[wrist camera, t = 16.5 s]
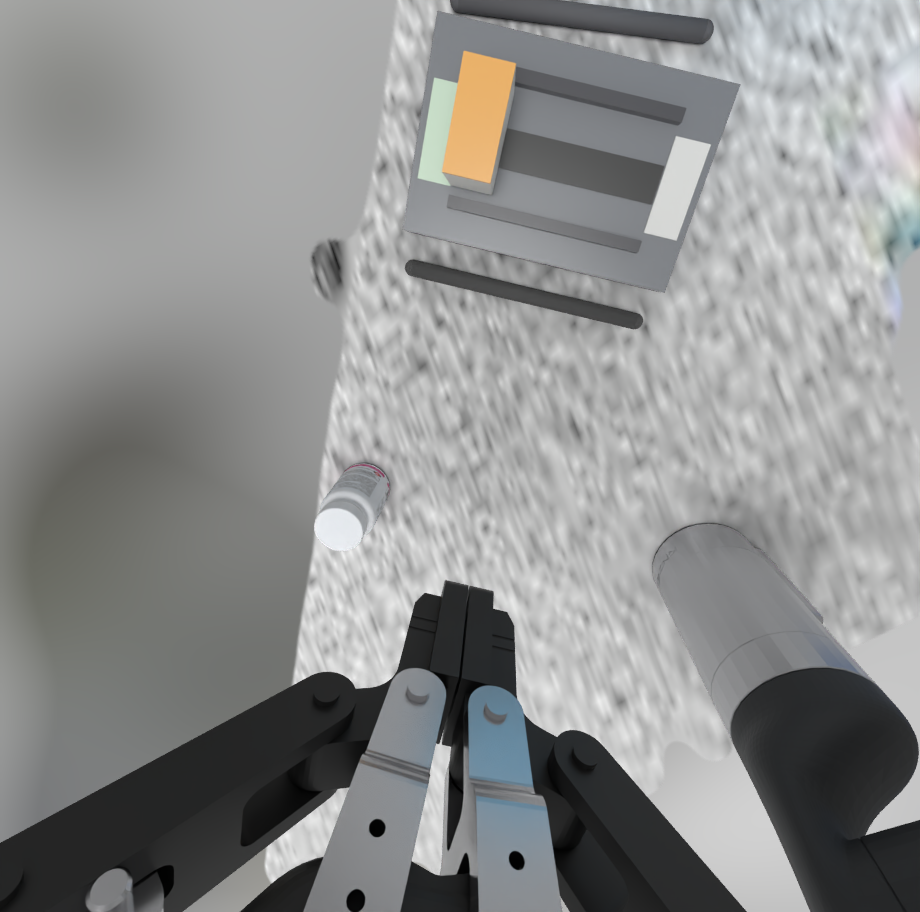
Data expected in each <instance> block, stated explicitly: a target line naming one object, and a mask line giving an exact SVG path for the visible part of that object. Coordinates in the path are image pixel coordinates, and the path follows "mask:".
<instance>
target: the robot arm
mask: <svg viewBox="0 0 920 912" xmlns="http://www.w3.org/2000/svg"><path fill="white" fill-rule="evenodd" d="M652 572H653V577H654V581H655V583H656V585H657V587H658V589H659V591H660V593H661V595H662V597H663V600H664V602H665V604H666V606H667V608H668V610H669V613H670V615H671V617H672V619H673V621H674V623H675V625H676V627H677V629H678V631H679V633H680V635H681V637H682V639H683V641H684V644H685V646H686V648H687V650H688V652H689V654H690V656H691V658H692V660H693V662H694V664H695V666H696V668H697V670H698V672H699V675H700V677H701V679H702V681H703V683H704V685H705V687H706V689H707V691H708V693H709V695H710V697H711V699H712V701H713V703H714V705H715V707H716V709H717V711H718V713H719V716H720V718H721V720H722V722H723V724H724V726H725V728H726V730H727V732H728V734H729V736H730V738H731V740H732V742H733V744H734V746H735V748H736V750H737V752H738V754H739V756H740V758H741V760H742V762H743V764H744V766H745V768H746V770H747V772H748V774H749V776H750V778H751V780H752V782H753V784H754V786H755V788H756V790H757V793H758V795H759V797H760V799H761V801H762V803H763V805H764V807H765V809H766V811H767V813H768V816H769V818H770V820H771V822H772V824H773V826H774V828H775V830H776V833H777V835H778V837H779V839H780V842H781V844H782V846H783V848H784V851H785V853H786V855H787V858H788V860H789V862H790V864H791V867H792V869H793V871H794V873H795V876H796V878H797V881H798V883H799V886H800V888H801V890H802V893H803V895H804V897H805V900H806V902H807V905H808V907H809V909H810V912H920V820H918V821H915V822H912V823H908V824H904V825H901V826H897V827H894V828H890V829H887V830H883V831H880V832H876V833H873V834H869V835H866V832H867V830H868V828H869V827H870V825H871V824H872V822H873V820H874V819H875V818H876V817H877V815H878V814H879V813H880V812H881V811H882V810H883V809H884V808H885V807H886V806H887V805H888V804H889V803H890V802H891V801H892V800H893V799H894V798H895V797H896V796H897V795H898V794H899V793H900V792H901V791H902V790H903V788H904V787H905V786H906V785H907V784H908V782H909V780H910V779H911V777H912V775H913V773H914V771H915V769H916V766H917V762H918V755H919V751H918V742H917V738H916V735H915V733H914V731H913V729H912V727H911V725H910V724H909V722H908V720H907V719H906V718H905V716H904V715H903V714H902V713H901V711H900V710H899V709H898V708H897V707H896V705H895V704H894V703H893V702H892V701H891V700H890V699H889V698H888V697H887V695H886V694H885V693H884V692H883V691H882V690H881V689H880V688H879V687H878V686H877V685H876V684H875V682H874V681H873V680H872V679H871V678H870V677H869V676H868V675H867V673H866V672H865V671H864V670H863V669H862V668H861V667H860V666H859V664H858V663H857V662H856V661H855V660H854V659H853V658H852V657H851V656H850V654H849V653H848V652H847V651H846V650H845V649H844V648H843V647H842V646H841V645H840V644H839V642H838V641H837V640H836V639H835V638H834V637H833V636H832V635H831V633H830V632H829V631H828V630H827V629H826V628H825V627H824V626H823V625H822V624H823V617H822V615H821V614H820V613H819V612H818V611H817V610H816V608H815V607H814V606H813V605H812V604H811V603H810V602H809V601H808V600H807V599H806V598H805V596H804V595H803V594H802V593H801V592H800V591H799V590H798V589H797V588H796V587H795V586H794V584H793V583H792V582H791V581H790V580H789V579H788V578H787V577H786V576H785V575H784V574H783V572H782V571H781V570H780V569H779V568H778V567H777V566H776V565H775V564H774V563H773V562H772V560H771V559H770V558H769V557H768V556H767V555H766V554H765V553H764V552H763V551H762V550H761V549H757V548H754V547H753V546H752V545H751V544H750V543H749V541H748V540H747V539H746V538H745V537H744V536H743V535H741V534H740V533H739V532H738V531H736V530H734V529H732V528H730V527H727V526H723V525H719V524H700V525H694V526H691V527H687V528H685V529H683V530H681V531H679V532H677V533H675V534H674V535H672V536H671V537H670V538H668V539H667V540H666V541H665V542H664V543H663V544H662V546H661V547H660V548H659V550H658V552H657V553H656V555H655V558H654V562H653V571H652ZM514 640H515V637H514V625H513V623H512V621H511V619H510V617H509V615H508V613H507V612H504V611H500V610H496V609H493V591H490V590H486V589H482V588H477V587H473V586H470V587H469V590H468V585H464V584H460V583H456V582H451V581H447V580H445V583H444V587H443V591H442V595H441V597H440V596H436V595H432V594H427V593H424V594H423V595H422V596H421V597H420V598H419V599H418V600H417V601H416V602H415V605H414V609H413V613H412V617H411V621H410V625H409V629H408V632H407V636H406V640H405V644H404V648H403V652H402V655H401V659H400V663H399V667H398V670H397V672H396V674H395V675H394V676H393V677H392V679H390V680H389V681H388V682H386V683H385V684H383V685H380V686H377V687H373V688H362V689H355V687H354V685H353V683H352V682H351V681H350V680H349V679H348V678H346V677H345V676H343V675H341V674H338V673H334V672H321V673H317V674H314V675H312V676H310V677H308V678H306V679H304V680H302V681H300V682H298V683H297V684H295V685H293V686H291V687H289V688H287V689H286V690H284V691H282V692H280V693H278V694H276V695H274V696H273V697H271V698H269V699H267V700H265V701H263V702H261V703H259V704H258V705H256V706H254V707H252V708H250V709H248V710H246V711H245V712H243V713H241V714H239V715H237V716H235V717H234V718H232V719H230V720H228V721H226V722H224V723H222V724H220V725H219V726H217V727H215V728H213V729H211V730H209V731H207V732H206V733H204V734H202V735H200V736H198V737H196V738H194V739H193V740H191V741H189V742H187V743H185V744H183V745H181V746H180V747H178V748H176V749H174V750H172V751H170V752H168V753H167V754H165V755H163V756H161V757H159V758H157V759H155V760H154V761H152V762H150V763H148V764H146V765H144V766H143V767H141V768H139V769H137V770H135V771H133V772H131V773H129V774H128V775H126V776H124V777H122V778H120V779H118V780H117V781H115V782H113V783H111V784H109V785H107V786H105V787H103V788H102V789H100V790H98V791H96V792H94V793H92V794H90V795H89V796H87V797H85V798H83V799H81V800H79V801H77V802H76V803H74V804H72V805H70V806H68V807H66V808H64V809H63V810H61V811H59V812H57V813H55V814H53V815H51V816H50V817H48V818H46V819H44V820H42V821H40V822H38V823H37V824H35V825H33V826H31V827H29V828H27V829H25V830H24V831H22V832H20V833H18V834H16V835H14V836H12V837H11V838H9V839H7V840H5V841H3V842H1V843H0V912H183V911H184V910H185V909H187V908H188V907H189V906H190V905H192V904H193V903H194V902H196V901H197V900H198V899H199V898H201V897H202V896H203V895H205V894H206V893H207V892H208V891H210V890H211V889H212V888H214V887H215V886H216V885H218V884H219V883H220V882H222V881H223V880H224V879H225V878H227V877H228V876H229V875H231V874H232V873H233V872H234V871H236V870H237V869H238V868H240V867H241V866H242V865H244V864H245V863H246V862H247V861H248V860H250V859H251V858H253V857H254V856H255V855H256V854H258V853H259V852H260V851H262V850H263V849H264V848H266V847H267V846H268V845H269V844H271V843H272V842H273V841H275V840H276V839H277V838H278V837H280V836H281V835H282V834H284V833H285V832H286V831H288V830H289V829H290V828H291V827H293V826H294V825H295V824H297V823H298V822H299V821H300V820H302V819H303V818H304V817H306V816H307V815H308V814H310V813H311V812H312V811H313V810H315V809H316V808H317V807H319V806H320V805H321V804H323V803H324V802H325V801H326V800H328V799H329V798H330V797H331V796H332V795H333V794H334V793H335V792H336V791H337V789H340V788H348V787H349V790H348V793H347V796H346V798H345V801H344V804H343V806H342V809H341V812H340V814H339V817H338V820H337V822H336V825H335V828H334V830H333V833H332V836H331V838H330V841H329V844H328V847H327V849H326V852H325V855H324V857H321V858H317V859H313V860H311V861H308V862H305V863H303V864H301V865H299V866H297V867H295V868H293V869H291V870H290V871H288V872H287V873H285V874H284V875H282V876H281V877H280V878H278V879H277V880H276V881H274V882H273V883H272V884H271V885H270V886H269V887H267V888H266V889H265V890H264V891H263V892H262V893H261V894H260V895H258V896H257V897H256V898H255V899H254V900H253V901H252V902H251V903H250V904H248V905H247V906H246V907H245V908H244V909H243V910H242V911H241V912H562V906H561V899H560V897H561V898H562V900H563V901H564V903H565V905H566V906H567V908H568V909H569V911H570V912H746V911H745V909H744V908H743V907H742V906H741V905H740V904H739V902H738V901H737V900H736V899H735V898H734V897H733V895H732V894H731V893H730V892H729V891H728V890H727V889H726V888H725V886H724V885H723V884H722V883H721V882H720V880H719V879H718V878H717V877H716V876H715V875H714V873H713V872H712V871H711V870H710V869H709V868H708V867H707V865H706V864H705V863H704V862H703V861H702V860H701V859H700V858H699V856H698V855H697V854H696V853H695V852H694V850H693V849H692V848H691V847H690V846H689V845H688V843H687V842H686V841H685V840H684V839H683V838H682V837H681V836H680V834H679V833H678V832H677V831H676V830H675V828H673V826H672V825H671V824H670V823H669V822H668V820H667V819H666V818H665V817H664V816H663V815H662V814H661V812H660V811H659V810H658V809H657V808H656V807H655V805H654V804H653V803H652V802H651V801H650V800H649V798H648V797H647V796H646V795H645V794H644V793H643V792H642V790H641V789H640V788H639V787H638V786H637V785H636V783H635V782H634V781H633V780H632V779H631V778H630V777H629V775H628V774H627V773H626V772H625V771H624V770H623V768H622V767H621V766H620V765H619V764H618V763H617V762H616V760H615V759H614V758H613V757H612V756H611V755H610V753H609V752H608V751H607V750H606V749H605V748H604V747H603V745H602V744H601V743H600V742H598V741H597V740H596V739H595V738H593V737H592V736H590V735H588V734H586V733H584V732H581V731H576V730H569V731H565V732H563V733H561V734H560V735H559V736H558V737H556V736H554V735H552V734H550V733H548V732H546V731H545V730H543V729H541V728H539V727H538V726H536V725H535V724H534V723H532V722H531V721H530V720H529V719H528V718H527V717H526V716H525V714H524V713H523V709H522V707H521V705H520V703H519V701H518V700H517V695H516V667H515V642H514ZM443 730H444V731H443ZM442 733H443V739H442V745H446V746H450V747H451V754H450V762H449V765H448V768H447V772H446V775H445V790H444V817H443V844H442V863H441V871H440V876H439V875H435V874H433V873H431V872H429V871H427V870H426V869H424V868H422V867H421V866H419V865H417V864H415V863H414V862H412V856H413V852H414V847H415V842H416V838H417V833H418V829H419V824H420V820H421V815H422V811H423V806H424V802H425V797H426V792H427V788H428V783H429V778H430V774H429V773H430V768H431V763H432V759H433V754H434V750H435V746H436V743H437V744H439V743H440V740H441V736H442ZM865 835H866V836H865Z"/></svg>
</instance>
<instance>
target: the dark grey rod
mask: <svg viewBox="0 0 920 912" xmlns="http://www.w3.org/2000/svg"><path fill="white" fill-rule="evenodd" d="M405 270H406V272H407V274H408V275H410V276H414V277H418V278H422V279H426V280H430V281H434V282H439V283H443V284H447V285H451V286H455V287H459V288H464V289H468V290H472V291H476V292H480V293H485V294H489V295H493V296H497V297H501V298H505V299H510V300H514V301H518V302H522V303H526V304H530V305H535V306H539V307H543V308H547V309H551V310H555V311H560V312H564V313H568V314H572V315H576V316H580V317H585V318H589V319H593V320H597V321H601V322H606V323H610V324H614V325H618V326H622V327H626V328H631V329H637V328H639V327H640V326H641V325H642V323H643V318H642V316H641V315H640V314H637V313H633V312H629V311H625V310H620V309H616V308H612V307H608V306H604V305H600V304H595V303H591V302H587V301H583V300H579V299H575V298H570V297H566V296H562V295H558V294H554V293H550V292H545V291H541V290H537V289H533V288H529V287H525V286H520V285H516V284H512V283H508V282H504V281H500V280H495V279H491V278H487V277H483V276H479V275H475V274H470V273H466V272H462V271H458V270H454V269H450V268H445V267H441V266H437V265H433V264H429V263H425V262H420V261H416V260H410V261H408V262H407V263H406V265H405Z"/></svg>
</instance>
